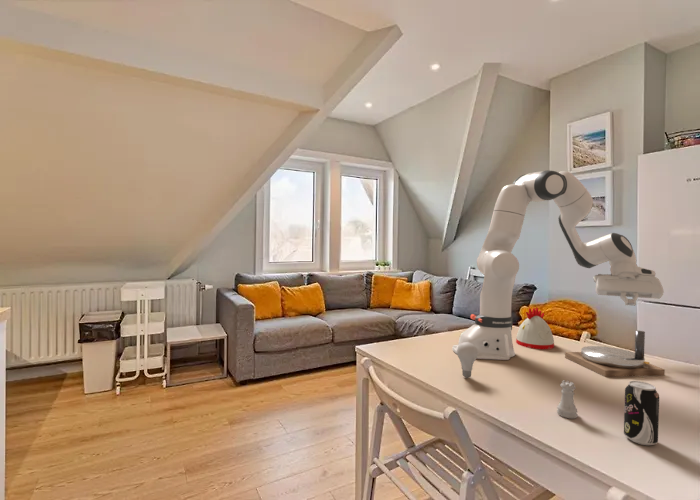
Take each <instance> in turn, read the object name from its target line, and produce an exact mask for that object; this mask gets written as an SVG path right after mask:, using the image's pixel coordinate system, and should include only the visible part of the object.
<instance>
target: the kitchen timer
mask: <svg viewBox="0 0 700 500" xmlns="http://www.w3.org/2000/svg"><path fill="white" fill-rule="evenodd" d="M525 313H526V317H527V318H525V319H524V321H522V323H521V324H520V325H519V326H518V331H517V333H516V338H515V341H516V345H519V346H521V347H524V348H529V349H534V350H535V349H536V350H552V349H553V348H554V347H555V339H554V336H553V333H552V329H551V328H550V326H549V324H548V323H547V322H546V321H545V320H544V316H545V313H544V312H543V313H542V310H539V308H538V307H536V308H534V307H533V308H529V309H528V311H525Z"/></svg>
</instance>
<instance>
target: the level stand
mask: <svg viewBox="0 0 700 500" xmlns="http://www.w3.org/2000/svg"><path fill="white" fill-rule="evenodd" d="M564 358H565V359H568V360H569V361H572V362H573V363H575V364H577V365H579V366H581V367H583V368H586V369H588V370H590V371H592V372H594V373H596V374H598V375H600V376H602V377H605V378H610V377H611V378H612V377H613V378H615V377H617V378H619V377H624V378H625V377H662V376H665V373H666V372H665V370H666V369H665V368H662V367H659V366H656V365H655V364H652V363H650V364H645V365H644V366H643V367H641V368H620V367H612V366H607V365H602V364H598V363H595V362H592V361H589V360H587V359H585V358H583V357H582V356H581V351H565V353H564Z"/></svg>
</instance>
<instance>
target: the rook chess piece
mask: <svg viewBox="0 0 700 500" xmlns="http://www.w3.org/2000/svg"><path fill="white" fill-rule="evenodd" d="M559 385H560V387H561V391H560V392H561V398H560V402H559V404H557V407H556V409H557V410H556V412H557V414H558V415H559V416H561V417H562V418H566V419H568V420H569V419H572V420H573V419H576V418H577V417H578V416H579V415H578V412H579V411H578V408H576V405H575V402H574V401H575V400H574V395H575V392H574V391H575V390H576V386H575V384H574V382H573V381H569V380H561V383H560V384H559Z"/></svg>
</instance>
